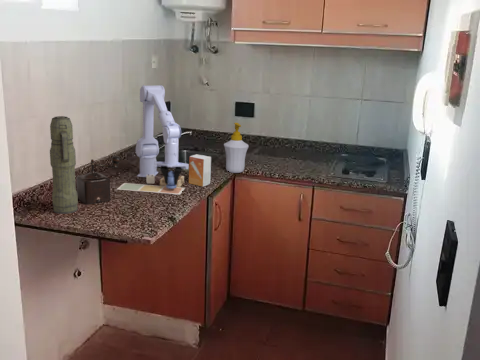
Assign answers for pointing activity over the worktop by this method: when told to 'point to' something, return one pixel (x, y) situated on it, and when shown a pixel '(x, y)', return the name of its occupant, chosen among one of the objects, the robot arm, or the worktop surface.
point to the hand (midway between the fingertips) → (171, 183)
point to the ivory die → (150, 178)
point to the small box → (199, 170)
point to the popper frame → (179, 183)
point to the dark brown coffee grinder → (95, 184)
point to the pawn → (171, 180)
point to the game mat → (150, 188)
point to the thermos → (63, 166)
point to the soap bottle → (235, 152)
